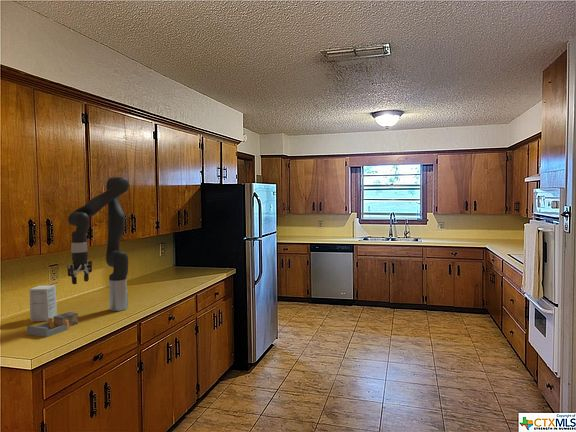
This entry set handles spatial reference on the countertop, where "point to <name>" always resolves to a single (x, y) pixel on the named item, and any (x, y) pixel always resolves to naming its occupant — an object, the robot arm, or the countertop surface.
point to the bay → (46, 329)
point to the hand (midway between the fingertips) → (80, 282)
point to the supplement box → (43, 303)
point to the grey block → (70, 316)
